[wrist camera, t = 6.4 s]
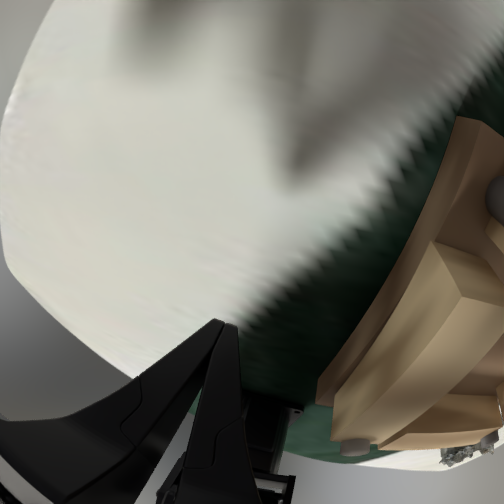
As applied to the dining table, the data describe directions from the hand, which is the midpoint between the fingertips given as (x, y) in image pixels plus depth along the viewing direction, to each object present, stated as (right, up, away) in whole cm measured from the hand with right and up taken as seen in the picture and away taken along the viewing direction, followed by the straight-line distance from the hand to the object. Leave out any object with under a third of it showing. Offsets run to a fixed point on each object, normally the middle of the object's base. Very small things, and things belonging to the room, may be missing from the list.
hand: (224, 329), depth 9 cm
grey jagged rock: (+30, -22, +11) cm, 39 cm away
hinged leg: (+8, -2, +2) cm, 8 cm away
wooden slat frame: (+15, -2, +2) cm, 15 cm away
